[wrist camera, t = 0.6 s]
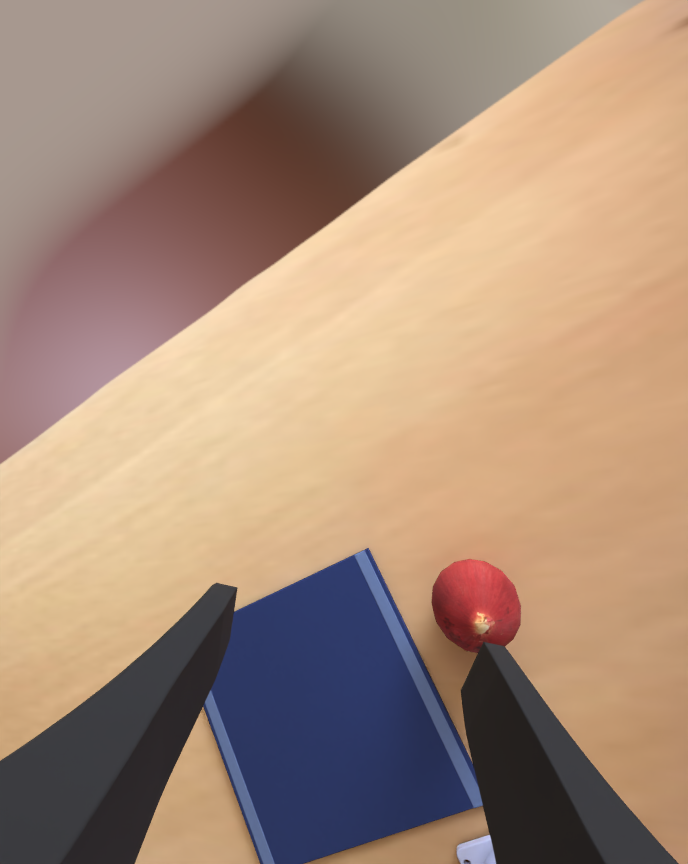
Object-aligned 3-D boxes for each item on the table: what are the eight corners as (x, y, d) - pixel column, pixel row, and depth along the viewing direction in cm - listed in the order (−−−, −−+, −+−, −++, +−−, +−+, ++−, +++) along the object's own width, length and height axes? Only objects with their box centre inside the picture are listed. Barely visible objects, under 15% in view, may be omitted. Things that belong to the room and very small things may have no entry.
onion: (505, 632, 28) (534, 696, 20) (429, 617, 29) (428, 671, 22) (510, 555, 28) (540, 589, 21) (434, 544, 30) (436, 572, 22)
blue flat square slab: (489, 798, 27) (490, 803, 27) (266, 871, 31) (264, 877, 30) (368, 547, 31) (367, 548, 31) (181, 636, 34) (178, 638, 34)
